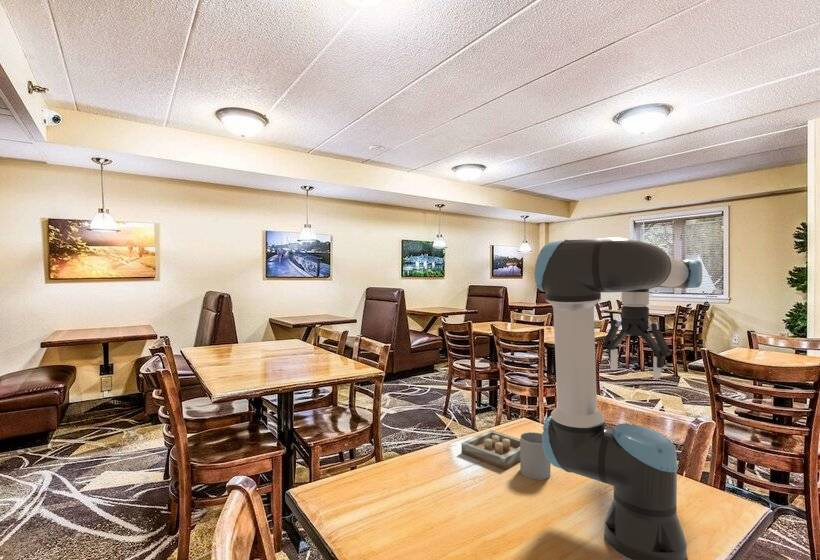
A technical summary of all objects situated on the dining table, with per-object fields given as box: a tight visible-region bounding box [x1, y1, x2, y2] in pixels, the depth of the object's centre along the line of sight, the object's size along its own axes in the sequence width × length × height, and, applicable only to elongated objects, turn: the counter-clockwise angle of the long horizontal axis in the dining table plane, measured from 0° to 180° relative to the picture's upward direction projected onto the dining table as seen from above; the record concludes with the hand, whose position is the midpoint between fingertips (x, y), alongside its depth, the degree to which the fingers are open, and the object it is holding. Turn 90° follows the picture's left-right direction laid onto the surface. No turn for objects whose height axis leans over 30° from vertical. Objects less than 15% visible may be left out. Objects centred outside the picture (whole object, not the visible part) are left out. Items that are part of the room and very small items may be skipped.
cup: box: [519, 431, 551, 481], centre depth 120 cm, size 8×8×10 cm
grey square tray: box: [461, 429, 520, 471], centre depth 132 cm, size 16×16×4 cm
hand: (634, 373), depth 130 cm, fingers open, 13 cm apart
